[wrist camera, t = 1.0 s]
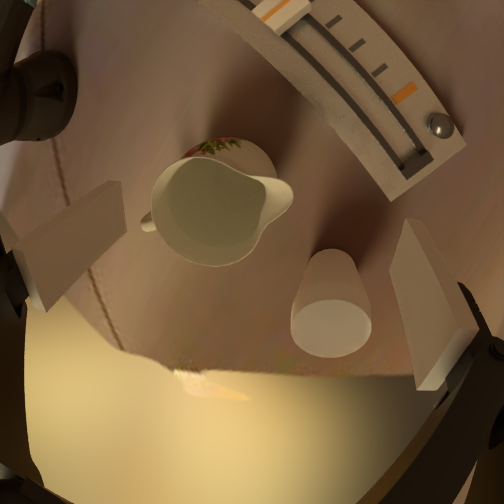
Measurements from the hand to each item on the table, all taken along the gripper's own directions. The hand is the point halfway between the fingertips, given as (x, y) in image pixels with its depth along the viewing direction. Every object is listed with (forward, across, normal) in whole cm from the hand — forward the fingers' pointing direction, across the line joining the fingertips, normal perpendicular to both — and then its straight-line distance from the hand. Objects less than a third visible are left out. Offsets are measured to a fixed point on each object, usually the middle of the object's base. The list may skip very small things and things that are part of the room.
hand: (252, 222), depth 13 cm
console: (+24, +4, +10) cm, 26 cm away
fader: (+22, -1, +14) cm, 26 cm away
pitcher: (+24, -7, -6) cm, 26 cm away
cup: (+24, +7, -17) cm, 30 cm away
